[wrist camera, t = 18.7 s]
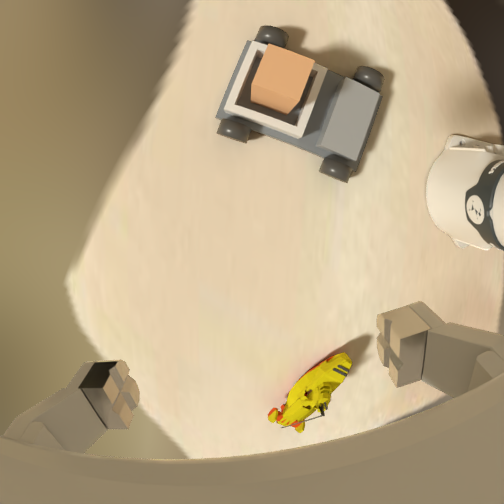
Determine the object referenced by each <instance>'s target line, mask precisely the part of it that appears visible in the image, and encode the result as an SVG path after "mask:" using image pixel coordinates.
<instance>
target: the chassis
mask: <svg viewBox="0 0 504 504" xmlns="http://www.w3.org/2000/svg"><path fill="white" fill-rule="evenodd" d="M288 38H289V36H288V34H287V33H286V32H284V31H283V30H281V29H279V28H276V27H273V26H261V27H260V29H259V31H258V34H257V36H256V38H255V41H252V42H251V41H248V40H247V43H246V45H245V47H244V49H243V52H242V54H241V56H240V59H239V61H238V63H237V66H236V68H235V70H234V73H233V75H232V77H231V80H230V82H229V85H228V87H227V90H226V92H225V94H224V97H223V100H222V102H221V105H220V107H219V110H218V112H217V115H216V117H215V118H216V119H219V120H221V123H220V125H219V128H218V131H217V134H219V135H222V136H225V137H227V138H230V139H233V140H236V141H239V142H243V143H247V141H248V138H249V135H250V133H251V130H252V131H255V132H258V133H261V134H263V135H266V136H269V137H272V138H274V139H277V140H280V141H282V142H285V143H287V144H290V145H293V146H295V147H298V148H300V149H303V150H305V151H307V152H310V153H312V154H315V155H317V156H319V157H322V158H324V160H323V163H322V165H321V168H320V170H319V172H321V173H323V174H325V175H328V176H330V177H332V178H335V179H337V180H340V181H342V182H345V183H348V180H349V177H350V175H351V172H352V171H353V172H356V170H357V167H358V165H359V162H360V159H361V157H362V154H363V151H364V148H365V146H366V143H367V140H368V137H369V135H370V132H371V129H372V126H373V123H374V120H375V117H376V115H377V112H378V109H379V106H380V103H381V100H382V97H383V96H381V95H380V93H378V92H380V91H381V88H382V85H383V81H384V76H383V75H382V74H381V73H380V72H378V71H377V70H375V69H372V68H370V67H365V66H359V67H357V70H356V73H355V75H354V78H353V80H352V79H350V78H348V77H343V76H341V75H339V74H336V73H334V72H332V71H330V70H328V68H326V67H324V66H321V65H319V64H316V63H314V65H313V67H312V70H311V72H310V75H309V77H308V80H307V83H306V85H305V88H304V90H303V93H302V96H301V98H300V101H299V102H298V103H297V104H296V106H295V107H294V108H293V109H292V110H291V111H290V112H289V113H288V114H287V115H285V114H282V113H280V112H277V111H274V110H272V109H269V108H266V107H263V106H260V105H258V104H255V103H252V102H251V85H252V82H253V79H254V77H255V74H256V72H257V69H258V67H259V65H260V62H261V60H262V58H263V55H264V53H265V51H266V48H267V46H268V44H272V45H275V46H278V47H281V48H285V45H286V43H287V41H288Z"/></svg>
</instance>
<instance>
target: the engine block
mask: <svg viewBox="0 0 504 504" xmlns="http://www.w3.org/2000/svg"><path fill="white" fill-rule="evenodd" d="M314 62H315V60H313V59H310V58H308V57H305V56H302V55H300V54H297V53H295V52H292V51H289V50H286V49H284V48H281V47H278V46H275V45H272V44H268V46H267V48H266V51H265V53H264V55H263V58H262V60H261V62H260V65H259V67H258V69H257V72H256V74H255V77H254V79H253V82H252V85H251V102H252V103H255V104H258V105H260V106H263V107H266V108H269V109H272V110H274V111H277V112H280V113H282V114H285V115H287V114H288V113H289V112H290V111H291V110H292V109H293V108H294V107H295V106H296V104H297V103H298V102H299V101H300V98H301V96H302V93H303V90H304V88H305V85H306V83H307V80H308V77H309V75H310V72H311V70H312V67H313V65H314Z"/></svg>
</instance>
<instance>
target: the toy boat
mask: <svg viewBox="0 0 504 504" xmlns="http://www.w3.org/2000/svg"><path fill="white" fill-rule="evenodd" d="M351 365H352V361H351V359H350V358H349V357H348V355H347V354H346V353H344V352H343V353H339V354H337V355H334V356H332V357H330V358H328V359H326V360H325V361H323V362H321V363H319V365H317V366H315V367H314V368H312V369H310V370H309V371H307V372H306V373H305V374H304V375H303V376H302V377H301V378H300V379H299V380H298V381H297V382H296V384H295V385H294V386H293V388H292V389H291V390H290V392H289V395H288V398H287V402H286V405H282V406H281V410H282V411H281V412H280V411H278V409H277V408H273V409H272V410H271V411H270V412H269V414H268V420H269V421H270V422H272V423H274V422H275V421H276V420H277V423H278V424H281V425H283V426H285V427H288V426H292V427H295V430H296V431H297V432H299V433H301V432H302V431H304V427H305V421H308V420H312V419H315V418H318V417H321V416H325V415H324V411H325V410H327V409H328V408H327V407H328V404H329V402H330V398H331V395H330V394H331V393H332V392H333V391H334V390H335V389H336V388H337V387H338V386H339V385H340V384H341V383H342V382H343V380H344V379H345V377H346V376H347V373H348V372H349V369H350V367H351ZM308 390H309V391H310V390H312V391H311V392H310V393H309V394H308V395H307V393H308V392H309V391H308ZM316 409H317V410H318V412H320V413H321V416H318V417H315V418H312V419H308V420H305V418H307V417H308V416H309V415H311V414H312V413H313V412H314V411H316ZM282 428H284V427H282Z"/></svg>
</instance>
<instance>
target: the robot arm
mask: <svg viewBox="0 0 504 504" xmlns="http://www.w3.org/2000/svg"><path fill="white" fill-rule="evenodd" d="M460 143H461V145H460ZM426 200H427V206H428V210H429V213H430V216H431V218H432V220H433V222H434V223H435V225H436V226H437V227H438V228H439V229H440V230H441V231H443V232H444V233H446V234H448V235H449V236H450V237H451V238H452V240H453V242H454V243H455V245H456V246H457V247H459V248H462V249H463V248H466V247H467V246H469V245H472V246H475V247H477V248H480V249H483V250H489V249H490V248H492V247H494V248H497V249H499V250H503V251H504V146H503V145H497V144H491V143H488V142H484V141H480V140H476V139H472V138H467V137H463V136H459V135H450V136H449V138H448V140H447V143H446V146H445V149H444V151H443V152H442V154H441V155H440V156H439V157H438V158H437V159H436V161H435V162H434V164H433V166H432V168H431V170H430V172H429V176H428V180H427V186H426ZM377 328H378V329H379V331H380V334H379V336H378V337H377V349H378V354H379V357H380V360H381V362H382V364H383V366H385V367H388V368H389V376H390V377H391V379H392V381H393V382H394V384H395V386H396V388H398V387H401V386H404V385H407V384H410V383H413V382H416V381H419V380H422V381H423V382H425V383H426V384H428V385H430V386H432V387H434V388H436V389H438V390H440V391H442V392H444V393H446V394H448V395H450V396H452V397H453V399H451V400H449V401H447V402H444V403H442V404H440V405H438V406H435V407H433V408H430V409H428V410H426V411H423V412H421V413H418V414H415V415H413V416H411V417H407V418H405V419H402V420H399V421H396V422H393V423H391V424H388V425H385V426H381V427H378V428H375V429H372V430H368V431H365V432H362V433H358V434H354V435H351V436H347V437H343V438H339V439H335V440H331V441H327V442H322V443H318V444H313V445H308V446H303V447H298V448H292V449H286V450H280V451H274V452H267V453H260V454H252V455H243V456H233V457H221V458H205V459H138V458H137V459H136V458H120V457H110V456H100V455H91V454H84V453H85V451H87V449H89V448H90V447H91V446H92V445H93V444H94V443H95V442H96V441H97V440H98V439H99V438H100V437H101V436H102V435H103V434H104V433H105V432H106V431H107V429H129V426H130V423H131V421H132V419H133V416H134V415H133V413H132V410H133V409H134V408H136V407H137V406H138V403H139V395H140V392H139V389H138V385H137V383H136V381H135V380H134V379H133V378H131V377H130V376H129V375H128V374H129V370H130V369H129V368H128V366H127V364H126V362H125V361H123V360H106V361H88V362H84V363H83V365H82V366H81V367H80V369H79V370H78V372H77V373H76V374H75V376H74V377H73V379H72V380H71V382H70V383H69V384H68V386H67V387H66V388H63V389H61V390H59V391H58V392H56V393H55V394H53V395H51V396H50V397H48V398H46V399H45V400H43V401H41V402H40V403H38V404H37V405H35V406H33V407H32V408H30V409H28V410H27V411H25V412H24V413H22V414H21V415H19V416H17V417H16V418H15V419H14V421H13V422H12V424H11V425H10V426H9V428H8V429H7V431H6V432H5V434H4V435H3V436H1V435H0V504H504V335H502V334H497V333H493V332H489V331H484V330H480V329H476V328H472V327H467V326H463V325H459V324H455V323H451V322H450V323H447V324H446V323H445V322H444V321H443V320H442V319H441V318H440V317H439V316H437V315H436V314H435V313H434V312H433V311H432V310H431V309H430V308H429V307H428V306H427V305H426V304H424V303H423V302H421V301H418V302H415V303H412V304H409V305H407V306H404V307H401V308H398V309H394V310H391V311H388V312H385V313H381V314H378V315H377Z"/></svg>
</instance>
